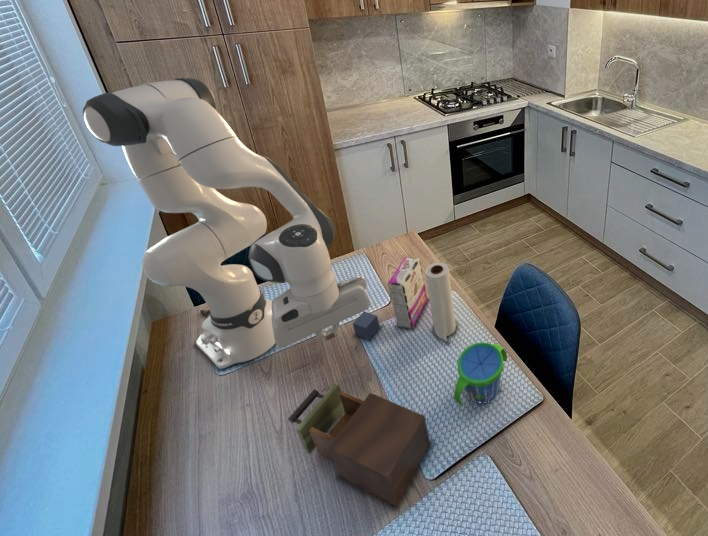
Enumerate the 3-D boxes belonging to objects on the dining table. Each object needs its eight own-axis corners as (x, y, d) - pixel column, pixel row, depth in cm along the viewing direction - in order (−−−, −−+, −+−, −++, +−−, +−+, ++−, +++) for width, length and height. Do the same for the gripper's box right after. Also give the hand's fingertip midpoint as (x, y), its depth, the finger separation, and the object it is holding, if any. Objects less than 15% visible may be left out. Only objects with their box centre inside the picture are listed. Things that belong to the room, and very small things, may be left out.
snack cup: (470, 430, 88) (467, 400, 84) (443, 397, 95) (438, 367, 91) (521, 383, 98) (521, 354, 93) (493, 356, 105) (491, 328, 100)
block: (355, 335, 112) (352, 323, 110) (366, 322, 116) (363, 311, 114) (368, 340, 111) (365, 328, 109) (379, 327, 114) (377, 315, 112)
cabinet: (339, 476, 81) (328, 447, 77) (378, 420, 91) (370, 392, 86) (395, 507, 76) (387, 477, 72) (430, 444, 86) (424, 415, 81)
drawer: (287, 441, 86) (276, 418, 83) (325, 397, 95) (317, 374, 92) (352, 476, 80) (344, 453, 76) (386, 425, 89) (380, 402, 85)
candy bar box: (412, 298, 124) (404, 255, 117) (427, 300, 123) (420, 257, 116) (396, 327, 114) (386, 282, 107) (412, 329, 113) (403, 284, 106)
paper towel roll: (441, 317, 117) (432, 259, 108) (459, 323, 115) (452, 264, 106) (427, 337, 111) (417, 276, 102) (447, 343, 109) (438, 282, 99)
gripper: (360, 266, 96) (370, 309, 102) (263, 304, 86) (280, 349, 92) (368, 281, 91) (378, 325, 97) (266, 323, 81) (285, 369, 87)
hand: (330, 337), depth 94 cm, fingers closed
